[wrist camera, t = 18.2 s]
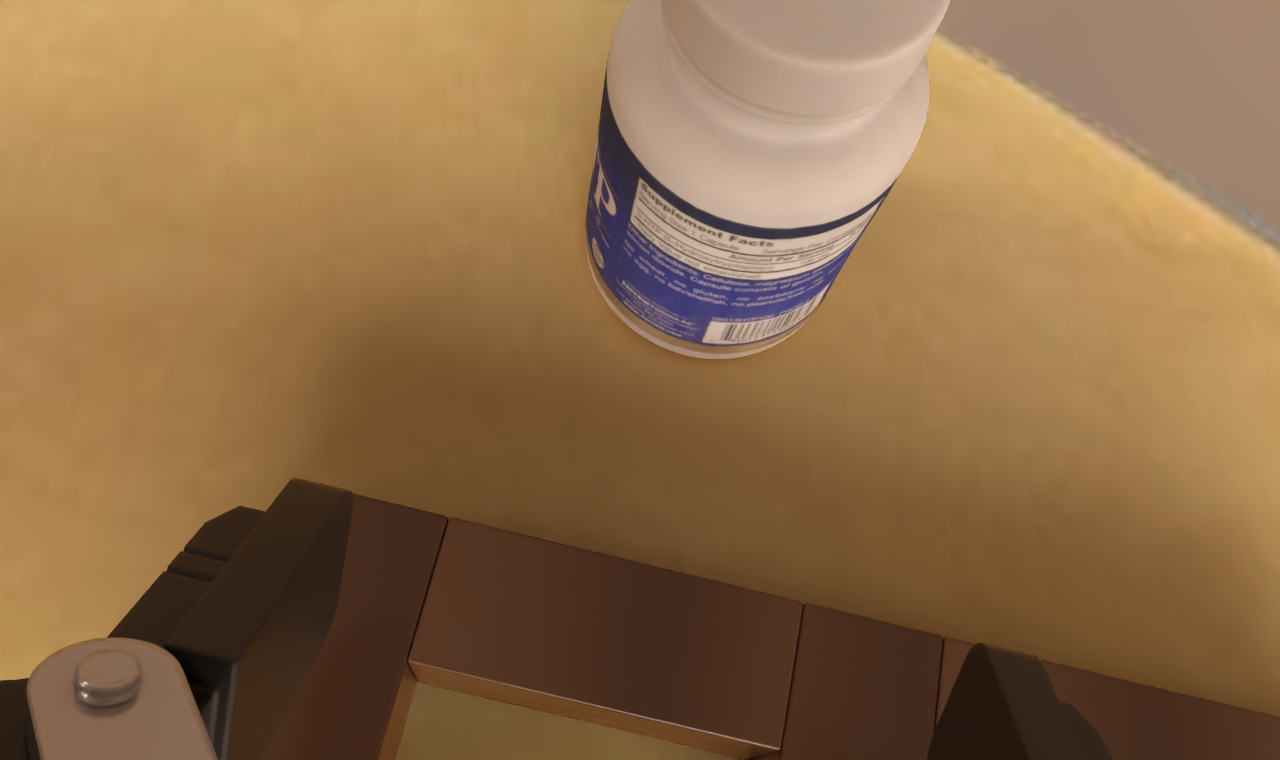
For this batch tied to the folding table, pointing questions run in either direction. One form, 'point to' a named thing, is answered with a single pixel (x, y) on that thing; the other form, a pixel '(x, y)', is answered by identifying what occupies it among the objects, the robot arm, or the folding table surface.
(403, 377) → the folding table surface
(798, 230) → the pill bottle
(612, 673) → the peg board
